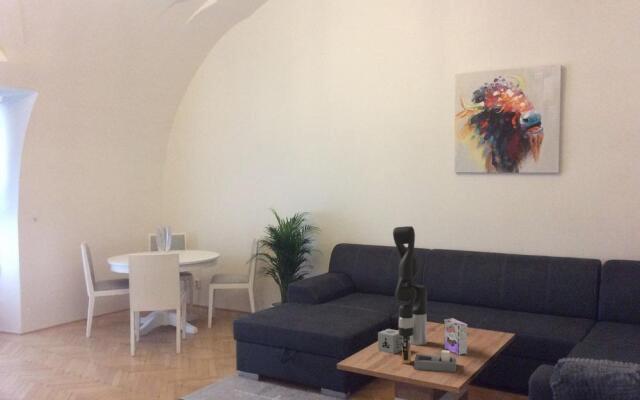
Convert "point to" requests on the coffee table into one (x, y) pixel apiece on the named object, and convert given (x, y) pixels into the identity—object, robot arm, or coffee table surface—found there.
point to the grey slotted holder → (436, 362)
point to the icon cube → (389, 341)
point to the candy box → (455, 336)
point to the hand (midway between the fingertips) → (406, 358)
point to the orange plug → (408, 356)
